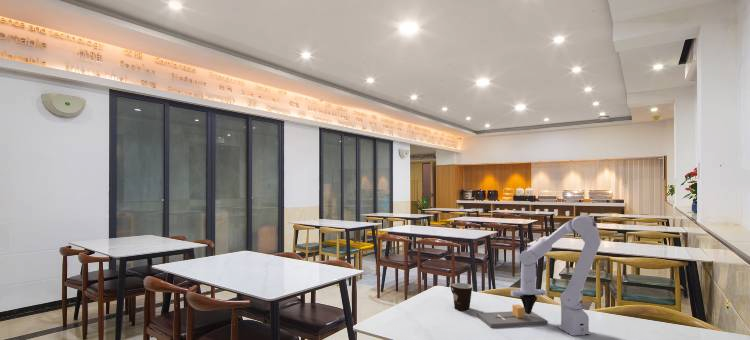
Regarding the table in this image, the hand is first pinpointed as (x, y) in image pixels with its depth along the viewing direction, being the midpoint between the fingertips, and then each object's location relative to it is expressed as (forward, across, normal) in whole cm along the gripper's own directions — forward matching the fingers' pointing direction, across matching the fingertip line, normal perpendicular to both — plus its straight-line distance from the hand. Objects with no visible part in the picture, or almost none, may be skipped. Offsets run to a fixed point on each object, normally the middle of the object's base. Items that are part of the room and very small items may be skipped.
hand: (527, 313), depth 158 cm
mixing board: (+3, +7, 0) cm, 8 cm away
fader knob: (+1, +4, 0) cm, 4 cm away
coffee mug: (+3, +21, -18) cm, 28 cm away
